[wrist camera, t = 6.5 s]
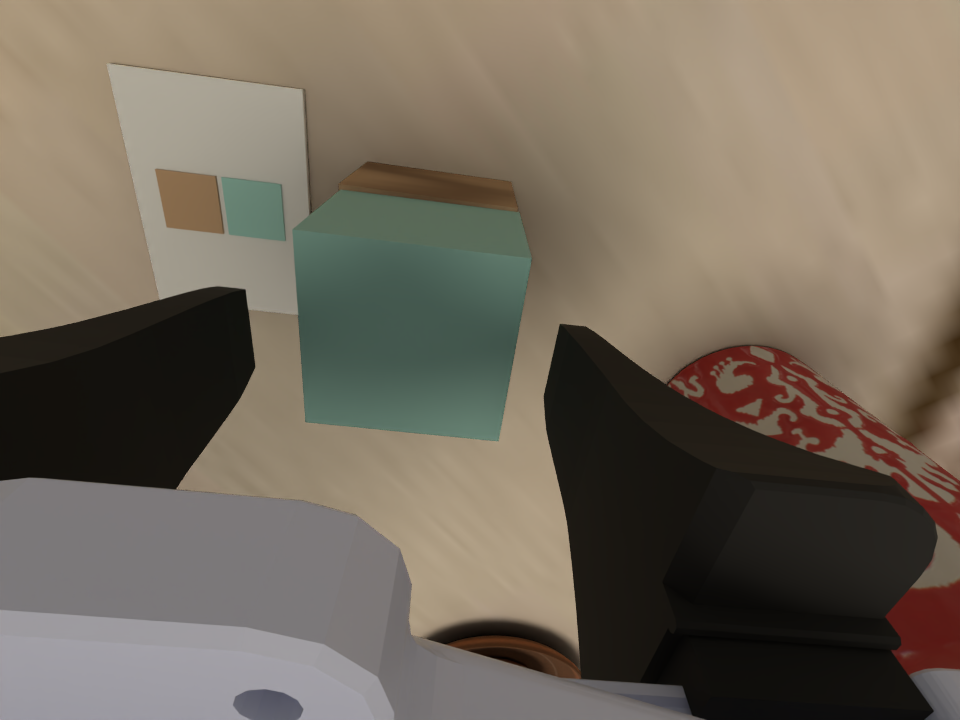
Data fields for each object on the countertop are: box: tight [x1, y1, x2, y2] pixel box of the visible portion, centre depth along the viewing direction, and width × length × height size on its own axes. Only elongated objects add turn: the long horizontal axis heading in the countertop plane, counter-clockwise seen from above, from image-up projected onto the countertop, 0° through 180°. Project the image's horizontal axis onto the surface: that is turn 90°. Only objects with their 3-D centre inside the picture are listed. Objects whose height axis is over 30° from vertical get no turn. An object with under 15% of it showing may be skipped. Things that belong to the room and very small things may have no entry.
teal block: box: [292, 190, 532, 441], centre depth 13 cm, size 5×5×4 cm
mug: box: [667, 346, 960, 675], centre depth 17 cm, size 13×9×14 cm
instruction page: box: [107, 63, 311, 315], centre depth 17 cm, size 6×8×1 cm
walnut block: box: [338, 162, 518, 212], centre depth 17 cm, size 5×5×4 cm
